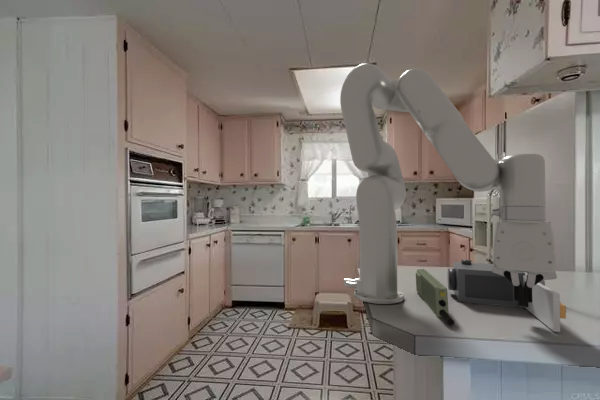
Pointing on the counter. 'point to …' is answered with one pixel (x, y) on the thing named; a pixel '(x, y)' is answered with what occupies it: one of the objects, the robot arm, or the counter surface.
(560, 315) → the side door
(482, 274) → the camera housing
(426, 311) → the counter surface
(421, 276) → the handheld radio
